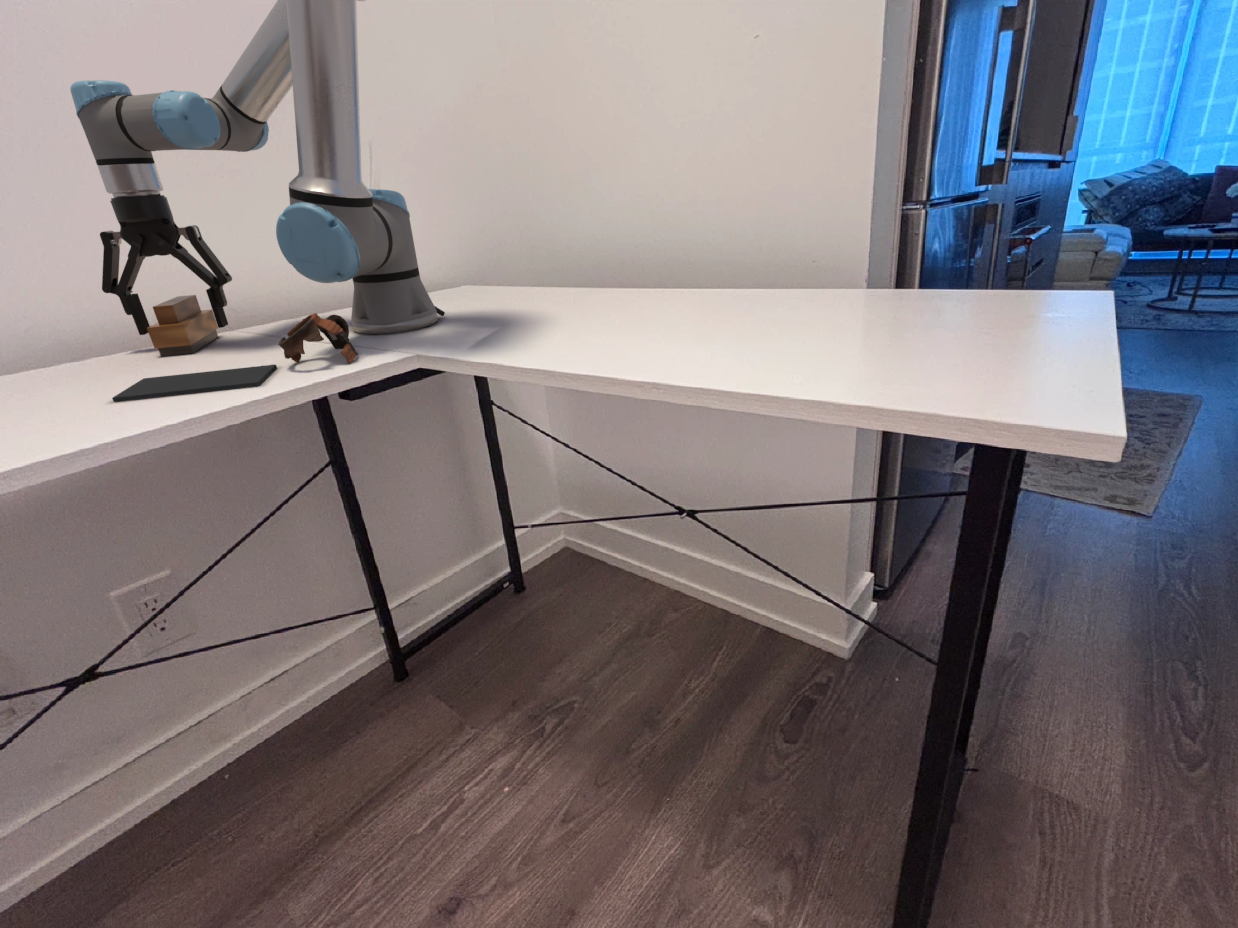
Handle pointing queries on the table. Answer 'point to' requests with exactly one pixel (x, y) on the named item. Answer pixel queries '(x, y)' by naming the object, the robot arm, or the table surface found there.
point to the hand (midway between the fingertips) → (185, 329)
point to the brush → (182, 326)
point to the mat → (196, 383)
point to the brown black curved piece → (318, 336)
